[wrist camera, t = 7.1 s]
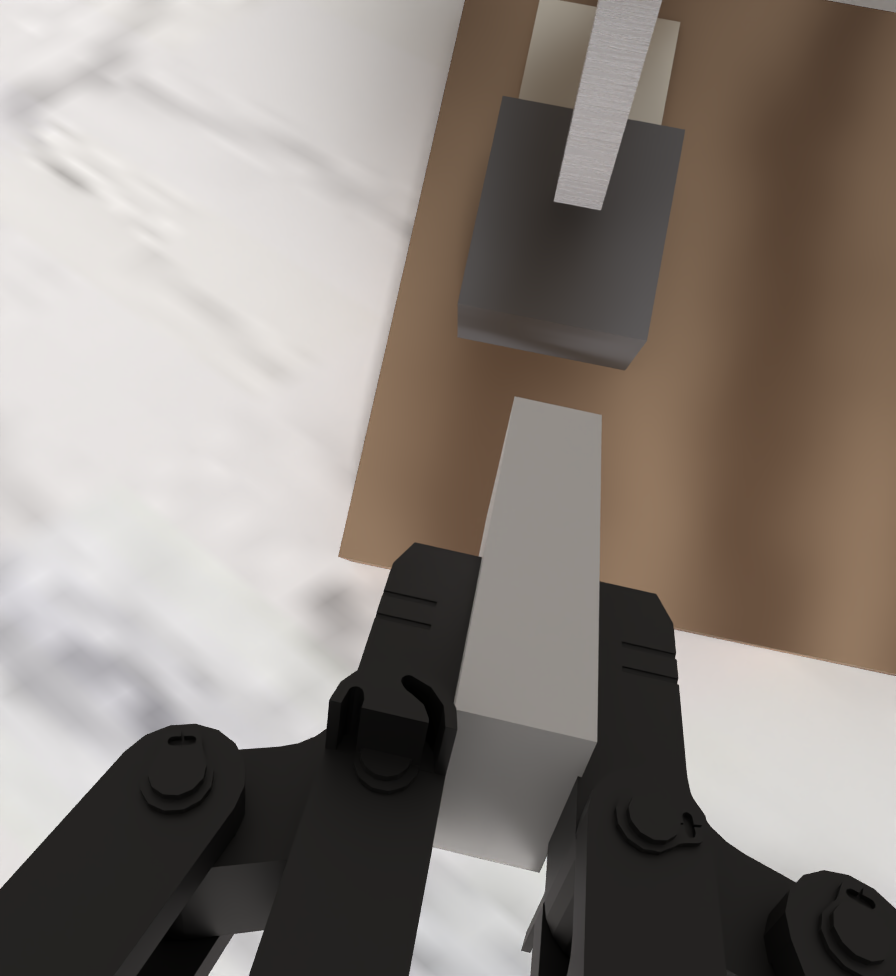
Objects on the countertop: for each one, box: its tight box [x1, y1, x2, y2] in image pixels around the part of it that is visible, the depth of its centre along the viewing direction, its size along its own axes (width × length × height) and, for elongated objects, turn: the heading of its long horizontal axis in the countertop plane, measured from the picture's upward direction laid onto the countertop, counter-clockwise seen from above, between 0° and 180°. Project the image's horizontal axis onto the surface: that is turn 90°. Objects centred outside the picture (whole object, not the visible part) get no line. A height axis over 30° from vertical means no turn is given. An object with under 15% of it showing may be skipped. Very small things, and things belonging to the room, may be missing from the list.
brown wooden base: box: [338, 0, 896, 676], centre depth 24 cm, size 23×20×6 cm
